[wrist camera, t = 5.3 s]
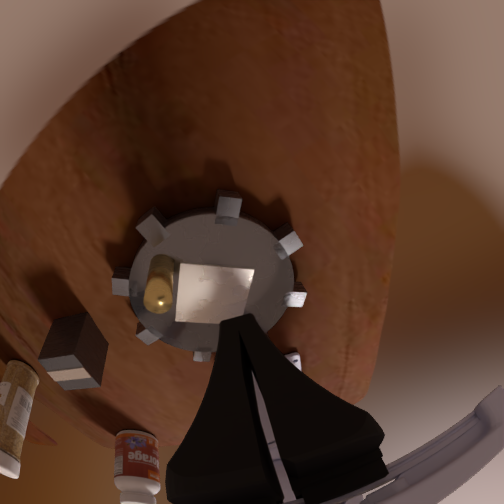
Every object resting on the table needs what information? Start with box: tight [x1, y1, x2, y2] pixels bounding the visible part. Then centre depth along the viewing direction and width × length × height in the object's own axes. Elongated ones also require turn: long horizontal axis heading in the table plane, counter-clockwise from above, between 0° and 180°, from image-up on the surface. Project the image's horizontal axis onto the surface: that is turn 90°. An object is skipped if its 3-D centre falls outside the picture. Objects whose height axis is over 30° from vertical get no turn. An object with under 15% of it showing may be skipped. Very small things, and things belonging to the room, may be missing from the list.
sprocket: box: [112, 189, 307, 361], centre depth 19 cm, size 14×14×6 cm
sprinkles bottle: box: [0, 360, 39, 479], centre depth 17 cm, size 5×5×14 cm
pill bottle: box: [114, 430, 160, 504], centre depth 28 cm, size 6×6×11 cm
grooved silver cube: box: [38, 312, 109, 390], centre depth 20 cm, size 4×4×5 cm
